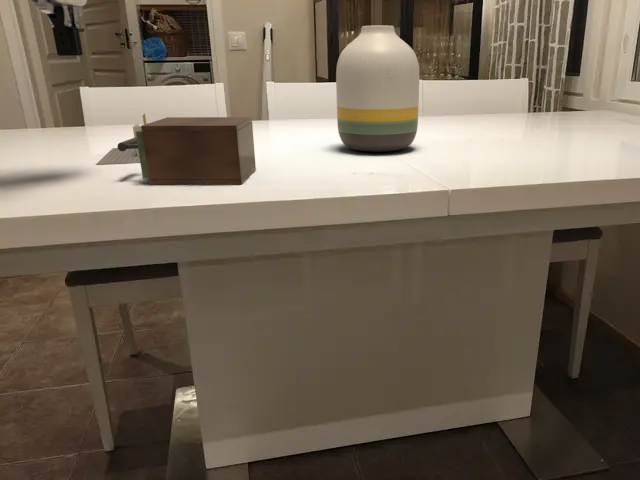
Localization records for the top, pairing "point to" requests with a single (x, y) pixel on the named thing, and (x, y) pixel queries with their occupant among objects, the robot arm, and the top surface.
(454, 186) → the top surface
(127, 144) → the drawer
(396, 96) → the vase
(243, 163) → the cabinet
